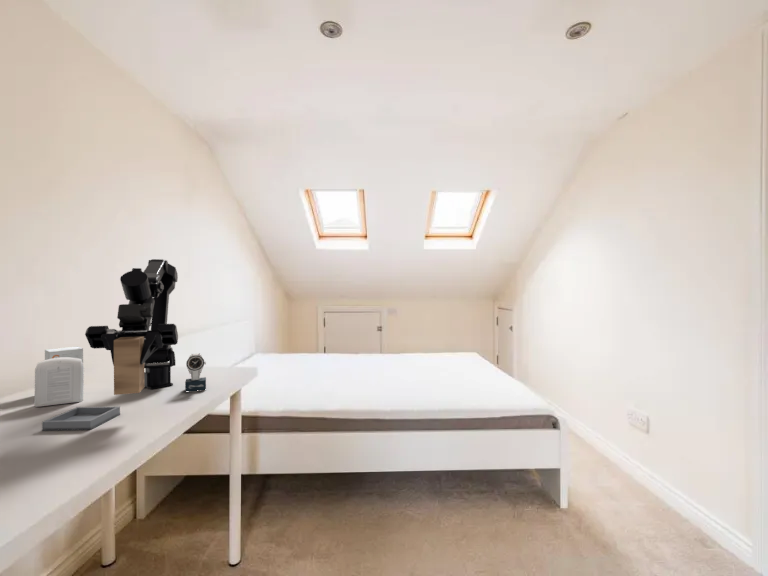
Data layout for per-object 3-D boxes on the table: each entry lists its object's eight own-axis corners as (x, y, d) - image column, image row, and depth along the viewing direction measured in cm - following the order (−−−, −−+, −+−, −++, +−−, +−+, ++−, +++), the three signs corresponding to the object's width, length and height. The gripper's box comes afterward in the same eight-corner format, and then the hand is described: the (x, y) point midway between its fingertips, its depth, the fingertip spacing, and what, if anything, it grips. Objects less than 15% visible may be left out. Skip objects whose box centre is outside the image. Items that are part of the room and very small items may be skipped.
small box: (78, 387, 121) (78, 345, 121) (83, 391, 117) (83, 348, 117) (44, 393, 115) (44, 349, 115) (48, 397, 111) (48, 351, 110)
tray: (77, 415, 95) (77, 407, 95) (119, 414, 95) (119, 406, 95) (42, 430, 85) (42, 421, 85) (90, 430, 85) (90, 420, 85)
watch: (184, 394, 113) (184, 356, 113) (186, 387, 121) (186, 352, 120) (205, 392, 115) (205, 355, 115) (206, 385, 123) (206, 351, 123)
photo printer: (84, 398, 109) (84, 354, 109) (83, 402, 106) (82, 357, 106) (36, 404, 104) (35, 358, 104) (32, 408, 100) (32, 361, 100)
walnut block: (120, 389, 93) (120, 337, 93) (144, 387, 95) (144, 336, 95) (113, 394, 88) (113, 340, 88) (139, 392, 90) (138, 339, 90)
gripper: (87, 292, 92) (68, 345, 82) (176, 291, 98) (168, 341, 88) (99, 322, 99) (83, 374, 89) (180, 320, 106) (174, 368, 96)
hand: (127, 364), depth 90 cm, fingers closed on walnut block, 5 cm apart
